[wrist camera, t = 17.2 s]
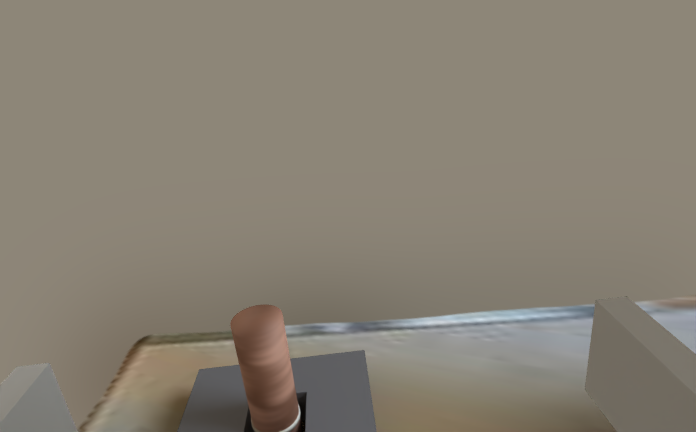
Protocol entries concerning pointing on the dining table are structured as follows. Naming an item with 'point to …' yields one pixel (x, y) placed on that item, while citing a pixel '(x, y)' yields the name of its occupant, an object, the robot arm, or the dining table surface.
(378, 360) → the dining table surface
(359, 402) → the board
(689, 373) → the robot arm
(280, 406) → the peg
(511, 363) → the dining table surface
